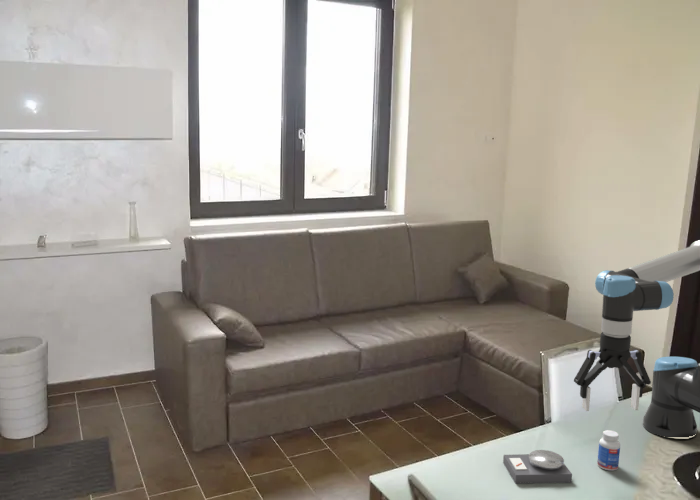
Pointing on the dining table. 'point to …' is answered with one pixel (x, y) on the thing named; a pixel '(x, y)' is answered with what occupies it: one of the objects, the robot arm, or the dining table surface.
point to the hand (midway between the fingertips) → (610, 408)
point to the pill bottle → (609, 451)
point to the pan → (546, 459)
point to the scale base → (534, 471)
